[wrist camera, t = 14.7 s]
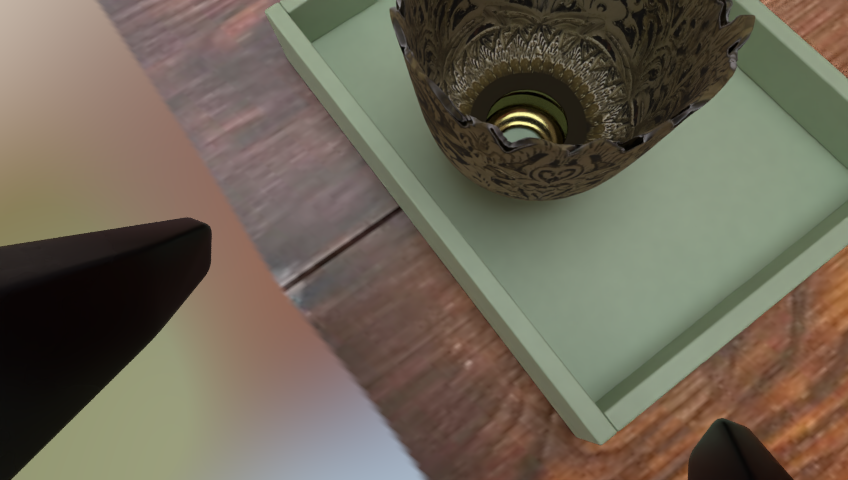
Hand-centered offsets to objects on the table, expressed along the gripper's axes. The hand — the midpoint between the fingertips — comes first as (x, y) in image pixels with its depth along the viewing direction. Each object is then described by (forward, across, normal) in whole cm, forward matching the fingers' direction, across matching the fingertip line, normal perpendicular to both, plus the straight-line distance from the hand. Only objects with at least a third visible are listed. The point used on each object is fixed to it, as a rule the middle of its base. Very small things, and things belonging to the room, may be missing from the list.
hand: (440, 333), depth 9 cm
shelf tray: (+13, -1, -1) cm, 13 cm away
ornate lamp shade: (+11, 0, 0) cm, 11 cm away
